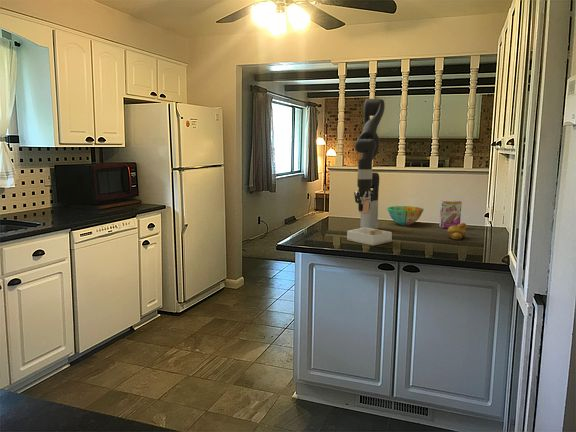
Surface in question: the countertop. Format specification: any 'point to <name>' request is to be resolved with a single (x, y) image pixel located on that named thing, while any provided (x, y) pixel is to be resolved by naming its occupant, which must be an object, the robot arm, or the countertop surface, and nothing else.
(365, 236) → the tote
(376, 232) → the birch cube
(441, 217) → the candy bar box
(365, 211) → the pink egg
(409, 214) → the bowl
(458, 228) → the bread roll
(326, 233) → the countertop surface
